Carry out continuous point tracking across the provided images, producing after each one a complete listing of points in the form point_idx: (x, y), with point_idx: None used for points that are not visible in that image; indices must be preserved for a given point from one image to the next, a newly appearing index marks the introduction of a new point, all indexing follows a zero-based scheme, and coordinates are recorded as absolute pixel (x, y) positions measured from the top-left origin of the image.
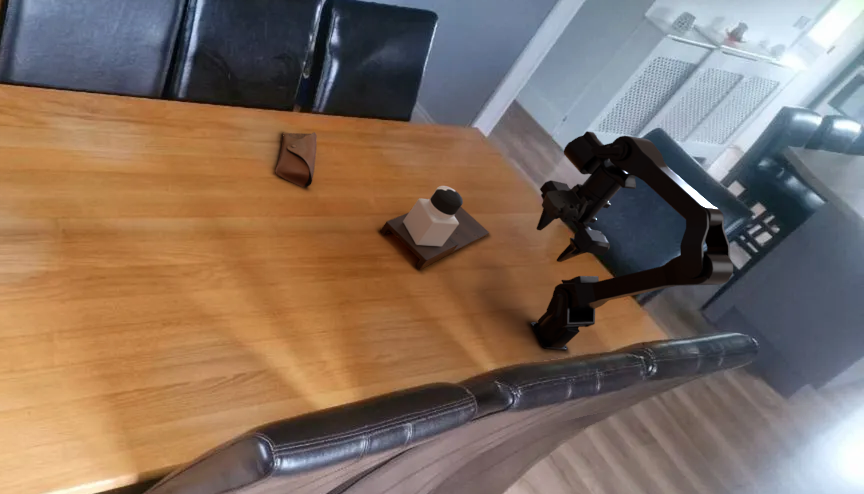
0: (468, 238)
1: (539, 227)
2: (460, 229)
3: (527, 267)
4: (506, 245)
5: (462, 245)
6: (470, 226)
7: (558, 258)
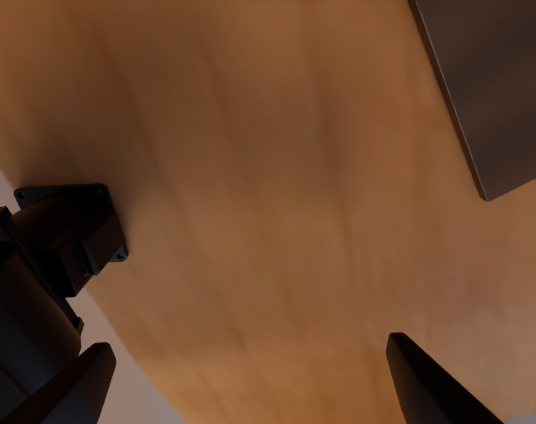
0: (466, 83)
1: (399, 354)
2: (519, 61)
3: (345, 278)
4: (431, 248)
5: (428, 26)
6: (528, 126)
7: (82, 359)
